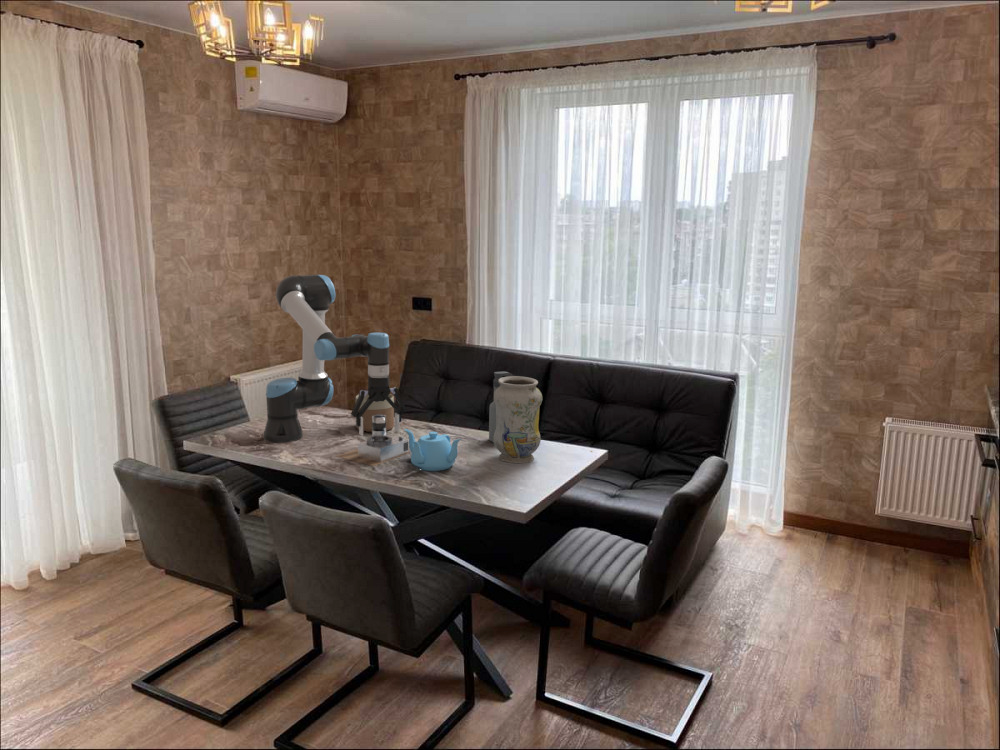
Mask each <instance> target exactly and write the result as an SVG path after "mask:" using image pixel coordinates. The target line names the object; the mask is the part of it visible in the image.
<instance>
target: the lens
mask: <svg viewBox="0 0 1000 750" xmlns="http://www.w3.org/2000/svg"><path fill="white" fill-rule="evenodd" d="M371 433H372V435H371V436H372V438H373V441H386V435H387V431H386V415H382V414H377V415H373V416H372V432H371Z"/></svg>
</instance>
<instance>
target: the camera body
mask: <svg viewBox="0 0 1000 750" xmlns="http://www.w3.org/2000/svg"><path fill="white" fill-rule="evenodd" d="M357 449H358V457H362V458H366V459H370V460H374V461H378V462H383V461H385V460H388V459H391V458H394V457H397V456H399V455H402V454H405V453H408V452H409V438H408V439H407V438H405V437H404V436H394V435H389V434H386V441H373V438H372V435H371V436H368V437H367V438H366V440H364V441H362V442H358V443H357Z"/></svg>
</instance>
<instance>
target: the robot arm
mask: <svg viewBox="0 0 1000 750" xmlns="http://www.w3.org/2000/svg"><path fill="white" fill-rule="evenodd" d="M275 299H276V302H277V304H278V305H279V307H280V308H281V310H282V311H283V312H285V313H286V314H287V313H288V314H289V315H290V316H291V317H292V319H294V321H295V322H296V323H297V325H298V326H299V327H300V328H301V329H302V361H301V362H302V367H301V372H299V373H298V377H297V378H298V380H297V379H296V378H294V377H281V378H277V379H274V380H271V381H269V382H268V383H267V385H266V387H265V388H266V389H265V391H266V392H265V397H266V415H267V419H266V423H265V427H264V431H263V440H264V441H267V442H272V443H289V442H293V441H297V440H300V439H302V438H303V429H302V426H301V424H300V421H299V417H298V416H299V415H298V410H303V409H310V408H319V407H322V406H326V405H328V404H329V403H330V402H331V401H332V399H333V396H334V384H333V381H332V379H331V378H330V377H328V376H329V375H328V373H327V372H326V371H325V361H333V360H341V359H349V358H350V359H351V358H358V357H364V358H367V375H368V377H367V384H368V385H367V387H368V388H367V390H363V389H360V390H359V393H358V395H359V397H358V399H357V401H356V400H355V404H354V406H353V408H352V410H351V412H350V415H351V416H352V417H353V418H355V426H356V425H357V426H358V427H359V429H358V433H359V435H360V436H361V437H363V436H364V431H363V418H362V417H361V416H362V415H363V414H364V412H365V411H366V410H367V408H368V407H369V406H370V405H371V404H372V403H373V402H374V401H375V402H378V401H384V400H386V401H387V402H388V403H389V404H390V405H391V406H392V407H393V408H394V411H395V412H394V431H395V432H398V433H399V432H400V423H402V421H403V419H402V418H403V417H402V415H403V413H405V412H407V408H406V406H405V403H404V402H403V400H402V398H401V396H400V394H399V389H398V388H397V387H396V386H393V387H391V388H390V377H389V375H390V338H389V337H390V336H389V334H388V333H386V332H379V331H378V332H369V333H367V335H365V334H358V333H357V334H353V335H351V336H345V337H344V336H343V337H342V336H341V337H337V336H336V334H334V333H333V331H332V330H331V329H330V328H329V327H328V326H327V324H326V313H328V311H329V310H330V305H331V304H333V303H334V301H335V299H336V289H335V285H334V283H333V282H332V280H331V278H330V277H329V276H327V275H325V274H303V275H289V276H286V277H284V278H283V279H282V280H281V281H280V282H279V283H278V285H277V286H276V290H275ZM391 393H392V394H391ZM366 394H368V395H369V397H368V399H367V401H366V402H365V403H364V405H363V406H362V407H361V408H360V406H361V404H362V402H363V399H364V397H365V396H366ZM389 394H391V395H393V396H394V398H395V400H396V402H397V404H398V405H396V404H395V401H394V402H393V401H392V400H391V399H390V398H389V397H388V395H389ZM398 406H399V407H398ZM359 408H360V410H359ZM358 410H359V411H358Z"/></svg>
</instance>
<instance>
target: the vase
mask: <svg viewBox="0 0 1000 750" xmlns="http://www.w3.org/2000/svg"><path fill="white" fill-rule="evenodd" d="M498 382H499V384H500V387H498V388H497V389H496V391H495V393H494V392H493V401H494V402H495V405H496V430H495V433H494V436H493V441H494V442H493V445H494V446H495V448H496V449H497V451H498V452H499V453H500V454H499V456H498V458H499V459H500V461H503V462H506V463H511V464H524V463H530V462H532V461H533V460H534V459H535V458H534V455H533V454H534V453H535V452H536V451H537V450H538V449H539V447H540V444H541V439H542V438H541V434H540V431H539V421H540V408H541V407H540V406H541V405H542V402H543V394H542V392H541V390H540V389H539V388H538V387H537V385H538V384H539V381H538V380H537V379H535V378H532V377H527V376H519V375H517V376H516V375H514V376H502V378H500V379H499V380H498Z"/></svg>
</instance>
